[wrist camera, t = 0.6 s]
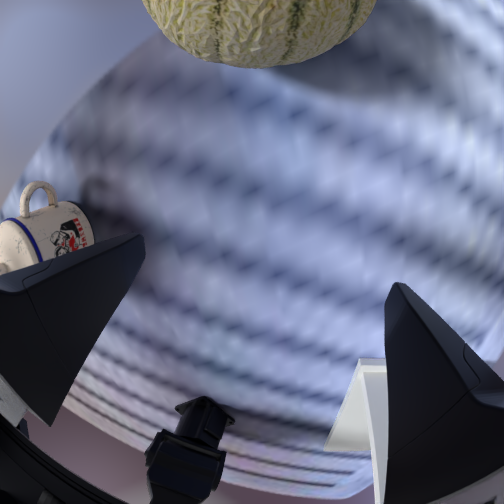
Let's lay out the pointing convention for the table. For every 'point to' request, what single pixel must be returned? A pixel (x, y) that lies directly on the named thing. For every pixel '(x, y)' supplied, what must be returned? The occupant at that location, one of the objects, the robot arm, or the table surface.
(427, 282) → the table surface
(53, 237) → the teacup with lid
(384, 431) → the gauge base
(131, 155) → the table surface
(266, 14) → the cantaloupe
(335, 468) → the table surface
